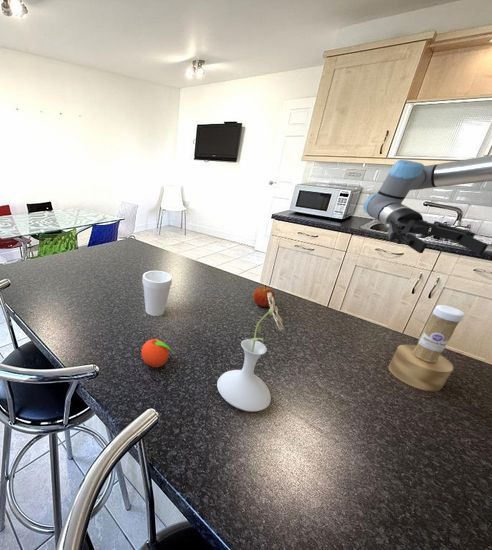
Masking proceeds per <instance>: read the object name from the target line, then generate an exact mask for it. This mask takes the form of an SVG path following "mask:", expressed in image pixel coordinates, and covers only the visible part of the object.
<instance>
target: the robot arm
mask: <svg viewBox="0 0 492 550" xmlns="http://www.w3.org/2000/svg"><path fill="white" fill-rule="evenodd" d="M486 182H492V154H491V155H485V156H479V157H473V158H467V159H461V160H455V161H449V162H448V161H447V162H441V163H437V164H435V163H434V164H429V165H424V164H423V163H422V162H417V161H413V160H407V159H399V160H397V161H396V162H395V163H394V164H393V166H392V167H391V168H390V169H389V172H388V174H387V176H386V178H385V179H384V181H383V182H382V184H381V186H380V188H379V190H378V191H377V193H375V194H372V195H370V196H369V197H367V198H366V199H365V200H364V202H363V206H362V207H363V210H364V212H365V213H366V214H367V215H368V216H369V217H371V218H373V219H374V220H376V221H378V222H380V223H381V224H383V225H384V226H385V228H384V229H385V230H386V231H387V235H388V240H389V241H392V242H394V241H395V240H396V241H395V243H396V244H397V245H402V244H405V245H407V246H408V247H409V248H411V249H412V250H414V251H415V252H416V253H418V254H423V253H424V252H425V250H426V248H427V246H428V243H427V242H426V241H424V240H421V239H420V238H419V237H417V236H415V235H423V236H427V237H433V236H434V237H438V238H442V239H446V240H449V241H453V242H456V243H457V244H459V245H461V246H462V247H464V248H466V249H467V250H469V251H471V252H473V253H475V254H477V255H480V256H482V255H483V254H484V252H485V251H486V250H487V248H488V246H489V244H487V243H485V242H483V241H481V240H479V239H477V238H475V236H476V233H475V232H472V231H469V230H465V229H462V228H458V227H456V226H451V225H448V224H444V223H442V222H440V221H437V220H435V221H434V222H433V223H432V222H428V220H424V218H423V215H422V214H421V213H420V212H418V211H417V210H415V209H413V208H411V207H409V206H407V205H405V204H403V201H404V200H405V199H406V197H407V196H408V194H409V193H410V191H415V190H424V189H433V188H434V189H435V188H441V187H451V186H458V185H468V184H478V183H486ZM429 231H430V232H429Z"/></svg>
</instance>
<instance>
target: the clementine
mask: <svg viewBox="0 0 492 550" xmlns="http://www.w3.org/2000/svg"><path fill="white" fill-rule="evenodd" d="M169 352H171V354H172V355H173V354H174V353H173V350H172V349H171V347H169V345H167V343H165V342H164V341H162V340H161V339H158V338H153V339H151V338H150V339H149V340H146V342H145V343H144V344H143V345H142V347H141V353H140V355H141V358H142V360H143V362H144V363H145V364H146V365H147V366H149V367H151V368H159V367H162V366H163V365H164V364H165V363H166V362H167V361H168V360H169V356H170V355H169V354H170V353H169Z"/></svg>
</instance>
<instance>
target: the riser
mask: <svg viewBox="0 0 492 550" xmlns="http://www.w3.org/2000/svg"><path fill="white" fill-rule="evenodd" d="M415 347H416V345H414V344H400V345H398V346H397V348H396V350H395V352H394V353H393V356H392V358H391V360H390V362H389V364H388V370H389V372H390V373H391V374H392V376H394V377H395V378H396V379H398V380H399V381H401V382H402V383H403V384H406V385H408V386H410V387H412V388H414V389H418V390H421V391H425V392H439V391H441V390H442V389H443V388H444V385H445V384H446V382H447V380H448V379H449V377H450V375H451V374H452V372H453V371H454V365H453V363H452V362H451V361H450V360H449V359H447V358H446V357H444V356H443V355H442V354H440V356H439V358H438V361H437V362H434V363H431V362H426V361H423V360H421V359H419V358H417V357H416V356H415V355H414V354H413V353H412V352H413V350H414V349H415Z"/></svg>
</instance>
